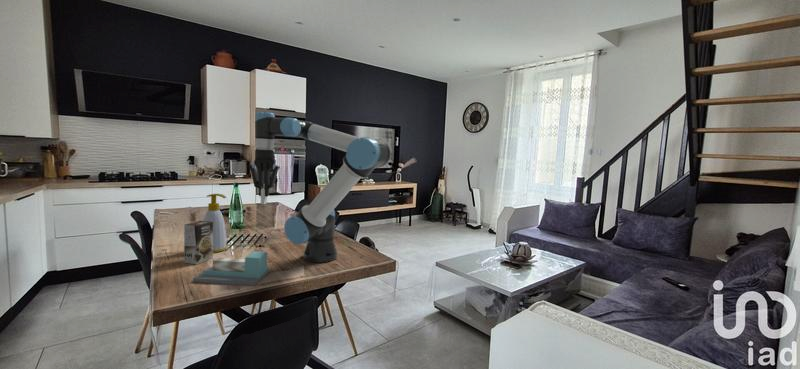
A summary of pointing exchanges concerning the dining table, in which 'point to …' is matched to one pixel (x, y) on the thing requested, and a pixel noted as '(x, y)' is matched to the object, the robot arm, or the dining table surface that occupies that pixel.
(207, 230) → the coffee box
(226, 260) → the clear long block
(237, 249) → the dining table surface
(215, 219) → the soap bottle
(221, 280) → the light blue stand
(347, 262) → the dining table surface
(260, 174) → the robot arm
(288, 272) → the dining table surface
